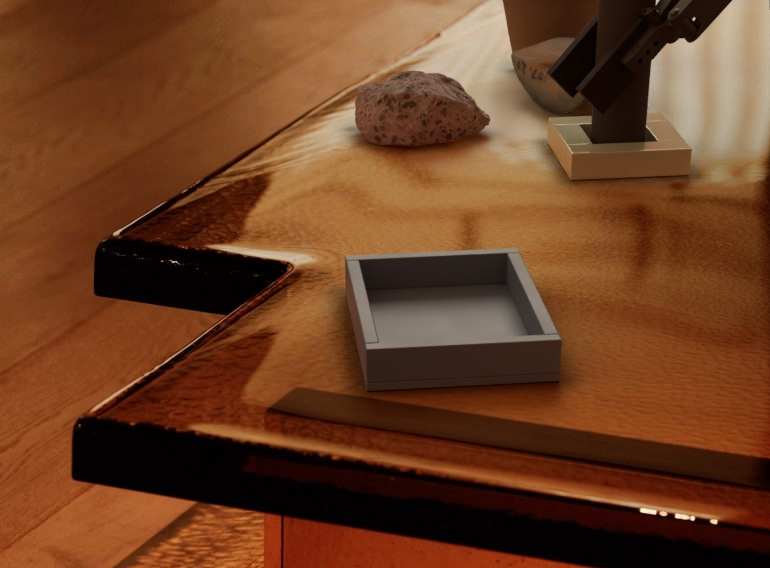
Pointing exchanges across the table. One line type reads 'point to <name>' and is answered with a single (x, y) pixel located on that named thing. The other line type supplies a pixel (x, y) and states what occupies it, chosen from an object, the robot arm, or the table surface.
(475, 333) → the grey tray
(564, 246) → the table surface
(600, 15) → the dark brown tall cylinder
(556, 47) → the seashell
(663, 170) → the beige square tray
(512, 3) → the flower pot
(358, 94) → the rock
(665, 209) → the table surface
